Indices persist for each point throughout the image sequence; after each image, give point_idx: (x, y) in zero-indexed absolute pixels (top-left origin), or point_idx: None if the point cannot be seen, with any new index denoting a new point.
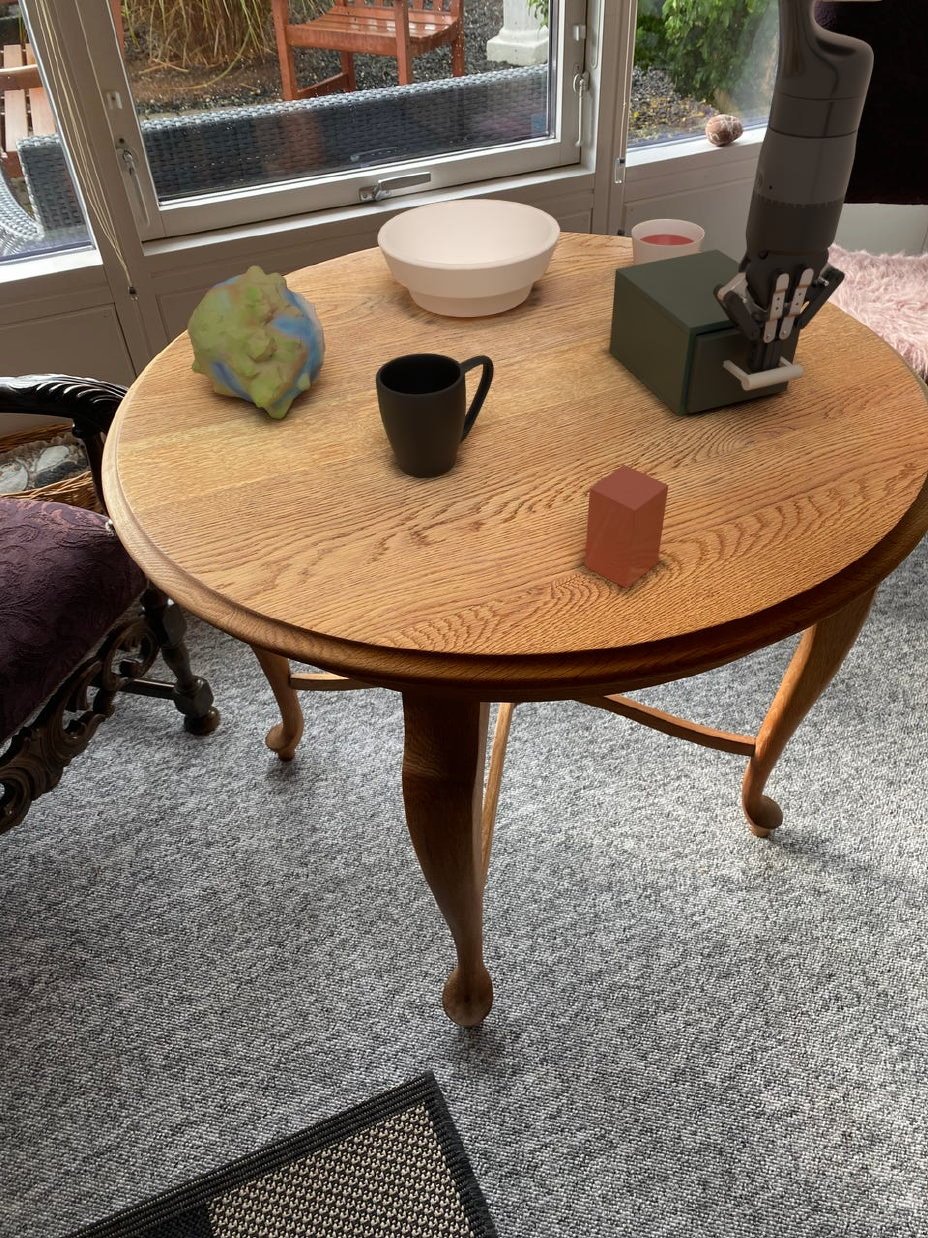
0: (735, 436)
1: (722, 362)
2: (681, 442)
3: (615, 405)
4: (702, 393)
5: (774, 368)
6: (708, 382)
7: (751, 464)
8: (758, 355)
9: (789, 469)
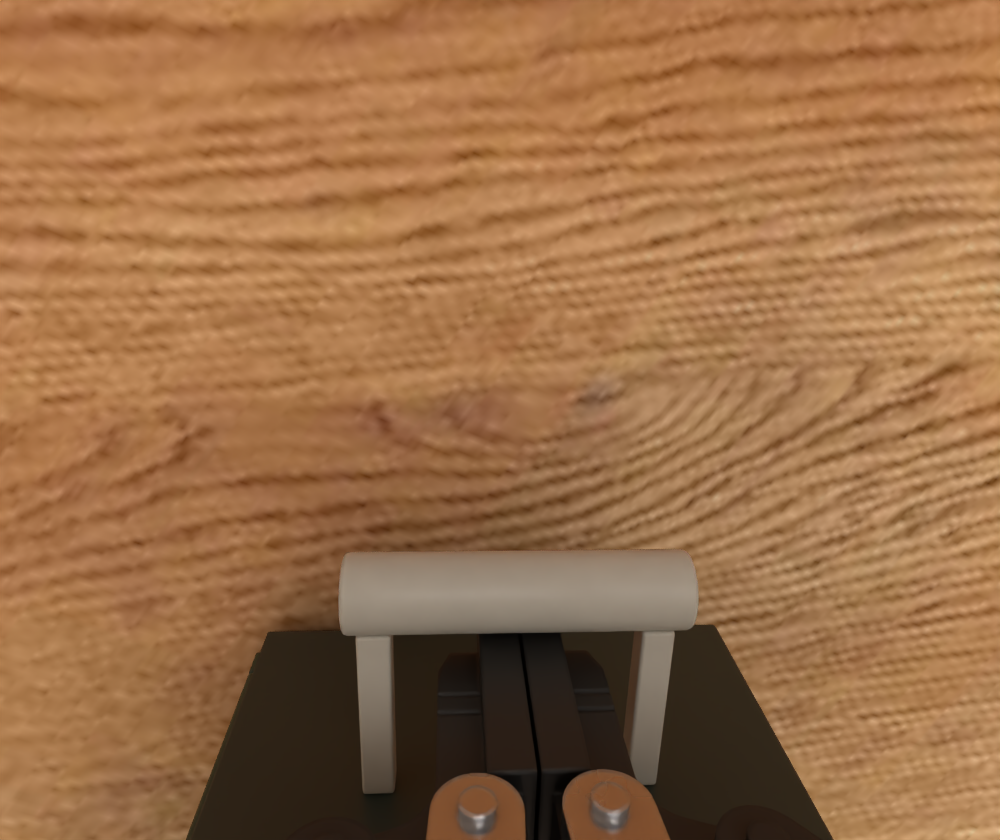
0: (618, 456)
1: (659, 779)
2: (820, 498)
3: (854, 766)
4: (701, 674)
5: (485, 639)
6: (693, 709)
7: (692, 261)
8: (608, 720)
9: (577, 159)
